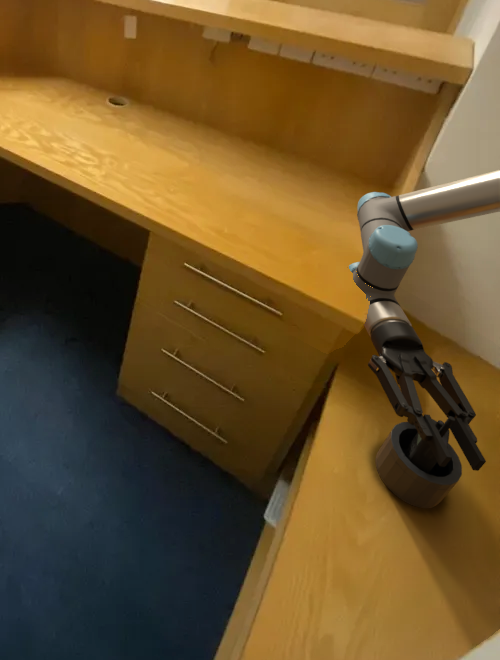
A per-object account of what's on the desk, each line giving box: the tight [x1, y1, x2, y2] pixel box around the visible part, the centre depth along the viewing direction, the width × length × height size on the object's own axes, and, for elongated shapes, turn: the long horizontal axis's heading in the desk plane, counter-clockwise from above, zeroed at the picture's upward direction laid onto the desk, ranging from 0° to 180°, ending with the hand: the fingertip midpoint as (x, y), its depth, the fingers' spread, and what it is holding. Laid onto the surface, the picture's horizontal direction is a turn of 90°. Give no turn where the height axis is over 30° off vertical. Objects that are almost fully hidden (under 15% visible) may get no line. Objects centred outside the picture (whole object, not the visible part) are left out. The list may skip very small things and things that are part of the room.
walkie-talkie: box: [406, 416, 455, 474], centre depth 83 cm, size 5×3×15 cm
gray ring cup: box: [375, 421, 463, 509], centre depth 87 cm, size 10×10×8 cm
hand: (462, 463), depth 76 cm, fingers closed on walkie-talkie, 4 cm apart
